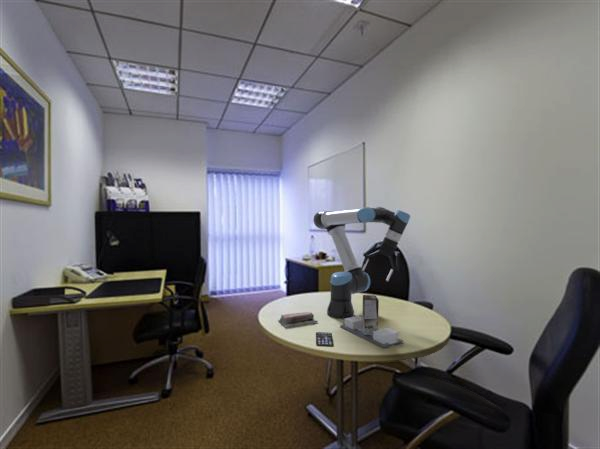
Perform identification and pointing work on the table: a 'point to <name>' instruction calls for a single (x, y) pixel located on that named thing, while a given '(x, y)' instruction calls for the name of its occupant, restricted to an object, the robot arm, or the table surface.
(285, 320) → the packaged product
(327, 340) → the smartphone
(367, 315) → the coffee box
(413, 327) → the table surface
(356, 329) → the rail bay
